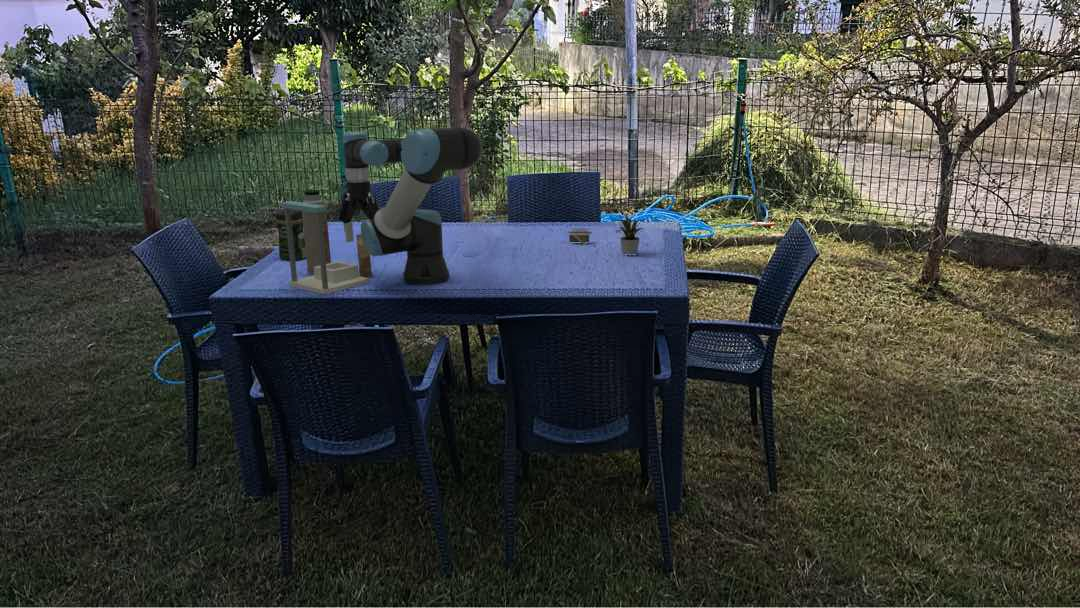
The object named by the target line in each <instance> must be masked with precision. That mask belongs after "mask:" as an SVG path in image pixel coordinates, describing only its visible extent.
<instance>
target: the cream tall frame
mask: <svg viewBox="0 0 1080 608" xmlns="http://www.w3.org/2000/svg"><path fill="white" fill-rule="evenodd" d="M280 208H282V209H284V210H285V219H286V229H287V238H288V247H289V257H290V260H289V263H290V274H291V280H290V281H288V285H289V287H291V286H292V287H291V288H295V287H296V288H295V289H299V290H303V291H307V292H311V293H316V294H319V295H328V294H332V293H336V292H340V291H343V290H346V289H347V288H348V289H350V287H351V288H354V286H355V287H358V285H359V286H362V285H361V284H363V285H366V284H365V283H367V284H370V283H369V282H370V277H367V278H366V277H361V276H360V274H359V264H354V263H348V262H344V261H339V260H338V261H334V262H331V263H329V264H326V259H325V248H324V238H323V227H322V216H321V212H324V211H326V212H328V207H327V205H324V206H323V205H316V204H309V203H303V202H299V201H293V200H291V201H282V202H280ZM290 209H294V210H301V211H307V212H314V213H315V214H316V224H317V235H318V245H319V256H320V266H316V267H314V275H309V276H306V277H302V278H298V275H297V264H296V260H295V252H294V243H293V233H292V224H291V214H290Z"/></svg>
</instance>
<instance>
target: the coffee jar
mask: <svg viewBox="0 0 1080 608" xmlns="http://www.w3.org/2000/svg"><path fill="white" fill-rule="evenodd" d="M290 214H291V224H292V233H293V243H294V252H295V261H300V260H305V259H306V248H305V239H304V229H303V219H302V211H301V210H294V209H290ZM275 223H276V225H277V229H278V255H279V259H280V260H285V261H290V257H289V247H288V238H287V229H286V219H285V210H284V208H282V209H278V210H276V212H275Z"/></svg>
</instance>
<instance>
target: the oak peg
mask: <svg viewBox="0 0 1080 608" xmlns="http://www.w3.org/2000/svg"><path fill="white" fill-rule="evenodd" d="M356 246H357V260H358V272H359V276H361V277H367V278H370V277H369V276H371V277H372V276H373V275H372V274H373V272H372V263H371V262H372V260H371V255H370V254H369V253H368V252H367V250H366V249H365V247H364V244H363V241H362V236H361V233H360V234H356Z"/></svg>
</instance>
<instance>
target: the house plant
mask: <svg viewBox="0 0 1080 608" xmlns="http://www.w3.org/2000/svg"><path fill="white" fill-rule="evenodd" d="M614 214H615V215H617V216H619V217H617V216H615V218H616V219H612V220H616V221H617V222H618V223H619V225H620V227H618V229H616V228H613V229H615V230H616V231H615V234H616V233H618V232H619V233H620V234H621V235H623V236H622V237H620V245H621V251H622V255H623V254H630V255H631V254H636V253H638V250H639V245H640V239H641V238H640V237H638V235H639V234H640V233H642V232H643V230H644V229H646V227H645V228H644V227H641V228H638V227H639V225H640V224H641V223H642V222H643V221H644V220H645V219H648V216H646V217H644V218H643V219H642V220H641V221H640V222H639V220H640V215H639V216H638V217H637V219H636V220H635V221H633V223H632V218H633V216H634V214H631V216H630V218H629V217H628V215H627V213H626V212H625V213H624V215H625V219H624V218H623V217H622V216H621V215H620V214H618V213H614ZM617 219H618V220H617ZM638 222H639V223H638ZM631 224H632V225H631ZM640 230H641V231H640ZM639 231H640V232H639ZM622 232H623V233H622ZM637 233H638V234H637ZM636 234H637V235H636Z"/></svg>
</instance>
